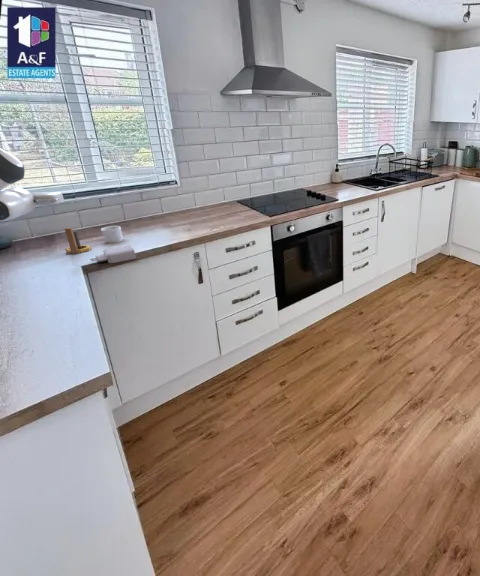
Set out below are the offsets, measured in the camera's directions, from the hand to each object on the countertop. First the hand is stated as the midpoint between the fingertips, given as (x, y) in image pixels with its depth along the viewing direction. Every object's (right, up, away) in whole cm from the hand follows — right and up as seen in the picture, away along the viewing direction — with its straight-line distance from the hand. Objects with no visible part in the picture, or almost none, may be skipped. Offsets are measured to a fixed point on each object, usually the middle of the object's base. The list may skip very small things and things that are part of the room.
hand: (35, 195), depth 137 cm
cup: (-2, -13, +43) cm, 45 cm away
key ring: (-6, -18, +27) cm, 33 cm away
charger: (+16, -24, +18) cm, 34 cm away
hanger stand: (-6, -19, +27) cm, 34 cm away
